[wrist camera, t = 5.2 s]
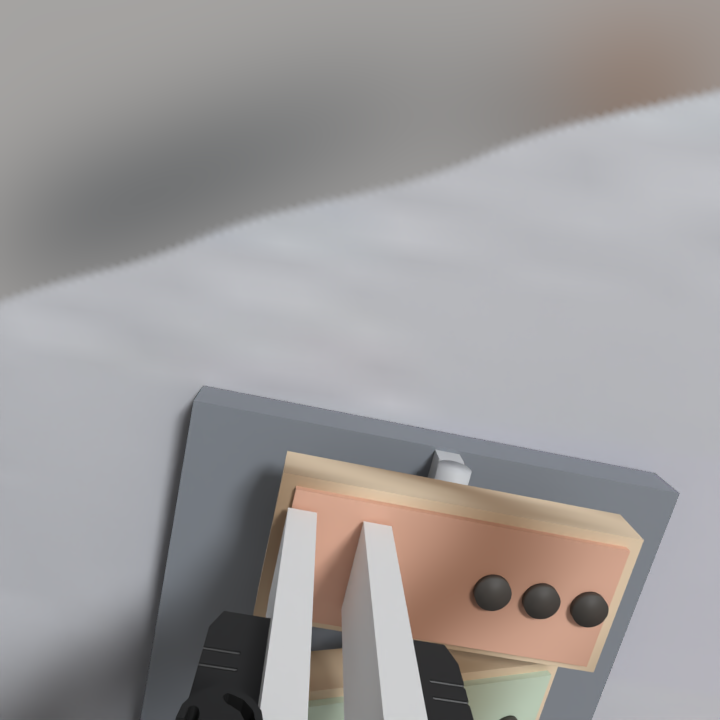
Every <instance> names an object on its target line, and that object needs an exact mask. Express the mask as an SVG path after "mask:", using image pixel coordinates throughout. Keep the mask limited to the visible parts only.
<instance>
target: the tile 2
mask: <svg viewBox="0 0 720 720" xmlns="http://www.w3.org/2000/svg"><path fill="white" fill-rule="evenodd" d="M448 650H449V652H450V653H451V654H452V656H453V657H454V659H455V660H456V661H457V663H458V664H459V668H460V672H461V675H462V679H463V682H464V688H465V690H466V693H467V697H468V701H469V702H468V705H469V706H470V708H471V712H472V715H473V719H474V720H539V718H540V715H541V712H542V710H543V707H544V704H545V701H546V698H547V696H548V693H549V690H550V687H551V685H552V682H553V679H554V676H555V674H556V671H557V668H558V667H557V666H551V665H545V664H539V663H532V662H526V661H520V660H514V659H508V658H502V657H496V656H489V655H483V654H477V653H471V652H465V651H459V650H453V649H448ZM308 720H344V694H343V655H342V648H341V649H330V650H319V651H311V658H310V680H309V702H308Z"/></svg>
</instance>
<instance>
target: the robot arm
mask: <svg viewBox="0 0 720 720" xmlns="http://www.w3.org/2000/svg"><path fill="white" fill-rule="evenodd" d="M316 525H317V513H316V512H310V511H305V510H299V509H294V508H288V511H287V516H286V520H285V525H284V530H283V534H282V539H281V543H280V548H279V553H278V557H277V562H276V566H275V571H274V576H273V580H272V585H271V589H270V594H269V599H268V605H267V612H266V618H265V617H259V616H253V615H246V614H240V613H234V612H228V611H223V612H222V613H221V614H220V615H219V616H218V618H217V619H216V620H215V621H214V622H213V623H212V624H211V625H210V626H209V628H208V632H207V635H206V639H205V642H204V646H203V650H202V653H201V656H200V660H199V664H198V667H197V670H196V674H195V677H194V681H193V684H192V688H191V691H190V695H189V698H188V699H187V700H186V701H185V702H184V703H182V705H181V707H180V709H179V712H178V714H177V716H176V719H175V720H308V702H309V680H310V658H311V635H312V613H313V591H314V569H315V547H316ZM341 616H342V655H343V694H344V720H474V719H473V715H472V712H471V708H470V706H469V705H468V702H469V701H468V697H467V693H466V690H465V688H464V682H463V679H462V675H461V672H460V668H459V664H458V663H457V661H456V660H455V659H454V657H453V656H452V654H451V653H450V652H449V650H448V649H447V648H446V646H445V645H443V644H437V643H430V642H424V641H418V640H413V638H412V633H411V627H410V622H409V617H408V611H407V606H406V601H405V595H404V590H403V585H402V579H401V574H400V568H399V563H398V558H397V552H396V547H395V542H394V536H393V531H392V526H388V525H382V524H377V523H371V522H365V521H364V522H363V525H362V529H361V533H360V537H359V541H358V545H357V549H356V553H355V557H354V561H353V565H352V569H351V573H350V577H349V581H348V585H347V589H346V593H345V597H344V601H343V604H342V608H341Z"/></svg>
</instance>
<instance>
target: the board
mask: <svg viewBox="0 0 720 720" xmlns="http://www.w3.org/2000/svg"><path fill="white" fill-rule="evenodd" d="M287 451H291V452H296V453H301V454H306V455H312V456H317V457H322V458H327V459H333V460H338V461H343V462H348V463H354V464H359V465H364V466H369V467H374V468H380V469H385V470H390V471H395V472H401V473H406V474H411V475H416V476H422V477H427V478H432V479H437V480H442V481H448V482H453V483H458V484H463V485H469V486H474V487H479V488H484V489H489V490H495V491H500V492H505V493H510V494H516V495H521V496H526V497H531V498H537V499H542V500H547V501H552V502H557V503H563V504H568V505H573V506H578V507H584V508H589V509H594V510H599V511H605V512H610V513H615V514H620V515H621V516H622V517H623V518H624V519H625V520H626V521H627V522H628V523H629V525H630V526H631V527H632V528H633V529H634V530H635V531H636V532H637V533H638V534H639V535H640V536H641V537H642V539H643V540H644V541H643V544H642V547H641V549H640V552H639V555H638V557H637V560H636V562H635V565H634V568H633V570H632V573H631V576H630V578H629V581H628V583H627V586H626V589H625V591H624V594H623V596H622V599H621V602H620V604H619V607H618V610H617V612H616V615H615V617H614V620H613V623H612V625H611V628H610V631H609V633H608V636H607V638H606V641H605V644H604V646H603V649H602V652H601V654H600V657H599V659H598V662H597V665H596V667H595V670H594V672H588V671H582V670H575V669H569V668H563V667H558V668H557V671H556V674H555V676H554V679H553V682H552V685H551V687H550V690H549V693H548V696H547V698H546V701H545V704H544V707H543V710H542V712H541V715H540V718H539V720H592V717H593V715H594V712H595V709H596V707H597V704H598V702H599V699H600V697H601V694H602V691H603V689H604V686H605V684H606V681H607V679H608V676H609V673H610V671H611V668H612V666H613V663H614V661H615V658H616V655H617V653H618V650H619V648H620V645H621V643H622V640H623V637H624V635H625V632H626V630H627V627H628V625H629V622H630V619H631V617H632V614H633V612H634V609H635V607H636V604H637V601H638V599H639V596H640V594H641V591H642V589H643V586H644V583H645V581H646V578H647V576H648V573H649V571H650V568H651V565H652V563H653V560H654V558H655V555H656V553H657V550H658V547H659V545H660V542H661V540H662V537H663V535H664V532H665V529H666V527H667V524H668V522H669V519H670V517H671V514H672V511H673V509H674V506H675V504H676V501H677V499H678V496H679V492H677V491H676V490H675V489H674V488H673V487H671V486H670V485H669V484H668V483H666V482H665V481H664V480H663V479H662V478H660V477H659V476H658V475H657V474H655V473H651V472H646V471H640V470H635V469H630V468H625V467H620V466H615V465H610V464H604V463H599V462H594V461H589V460H584V459H579V458H573V457H568V456H563V455H558V454H553V453H548V452H543V451H537V450H532V449H527V448H522V447H517V446H512V445H506V444H501V443H496V442H491V441H486V440H481V439H476V438H470V437H465V436H460V435H455V434H450V433H445V432H439V431H434V430H429V429H424V428H419V427H414V426H409V425H403V424H398V423H393V422H388V421H383V420H378V419H372V418H367V417H362V416H357V415H352V414H347V413H342V412H336V411H331V410H326V409H321V408H316V407H311V406H305V405H300V404H295V403H290V402H285V401H280V400H275V399H269V398H264V397H259V396H254V395H249V394H244V393H238V392H233V391H228V390H223V389H218V388H213V387H208V386H203V387H202V388H201V390H200V392H199V393H198V395H197V396H196V398H195V399H194V402H193V408H192V413H191V419H190V425H189V431H188V437H187V443H186V449H185V455H184V461H183V467H182V473H181V479H180V485H179V491H178V497H177V503H176V509H175V515H174V521H173V527H172V533H171V539H170V545H169V551H168V557H167V563H166V569H165V575H164V581H163V587H162V593H161V599H160V605H159V611H158V617H157V623H156V629H155V635H154V641H153V647H152V653H151V659H150V665H149V671H148V677H147V683H146V689H145V695H144V701H143V707H142V713H141V719H140V720H175V719H176V716H177V714H178V712H179V709H180V707H181V705H182V703H184V702H185V701H186V700H187V699H188V698H189V695H190V691H191V688H192V684H193V681H194V677H195V674H196V670H197V667H198V664H199V660H200V656H201V653H202V650H203V646H204V642H205V639H206V635H207V632H208V628H209V626H210V625H211V624H212V623H213V622H214V621H215V620H216V619H217V618H218V616H219V615H220V614H221V613H222V612H223V611H228V612H234V613H240V614H246V615H253V613H254V608H255V603H256V597H257V592H258V587H259V582H260V577H261V573H262V568H263V563H264V559H265V554H266V549H267V544H268V540H269V535H270V530H271V525H272V521H273V516H274V511H275V507H276V502H277V497H278V492H279V488H280V483H281V478H282V473H283V469H284V464H285V459H286V455H287ZM341 648H342V631H336V630H330V629H324V628H318V627H312V635H311V651H319V650H330V649H341Z"/></svg>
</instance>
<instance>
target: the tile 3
mask: <svg viewBox="0 0 720 720" xmlns="http://www.w3.org/2000/svg"><path fill="white" fill-rule="evenodd" d="M288 508H294V509H299V510H305V511H310V512H316V513H317V525H316V547H315V569H314V591H313V613H312V627H318V628H324V629H330V630H336V631H342V616H341V608H342V604H343V601H344V597H345V593H346V589H347V585H348V581H349V577H350V573H351V569H352V565H353V561H354V557H355V553H356V549H357V545H358V541H359V537H360V533H361V529H362V525H363V522H364V521H365V522H371V523H377V524H382V525H388V526H392V531H393V536H394V542H395V547H396V552H397V558H398V563H399V568H400V574H401V579H402V585H403V590H404V595H405V601H406V606H407V611H408V617H409V622H410V627H411V633H412V638H413V640H418V641H424V642H430V643H437V644H443V645H445V646H446V648H447V649H453V650H459V651H465V652H471V653H477V654H483V655H489V656H496V657H502V658H508V659H514V660H520V661H526V662H532V663H539V664H545V665H551V666H557V667H563V668H569V669H575V670H582V671H588V672H594V670H595V667H596V665H597V662H598V659H599V657H600V654H601V652H602V649H603V646H604V644H605V641H606V638H607V636H608V633H609V631H610V628H611V625H612V623H613V620H614V617H615V615H616V612H617V610H618V607H619V604H620V602H621V599H622V596H623V594H624V591H625V589H626V586H627V583H628V581H629V578H630V576H631V573H632V570H633V568H634V565H635V562H636V560H637V557H638V555H639V552H640V549H641V547H642V544H643V541H644V540H643V539H642V537H641V536H640V535H639V534H638V533H637V532H636V531H635V530H634V529H633V528H632V527H631V526H630V525H629V523H628V522H627V521H626V520H625V519H624V518H623V517H622V516H621V515H620V514H615V513H610V512H605V511H599V510H594V509H589V508H584V507H578V506H573V505H568V504H563V503H557V502H552V501H547V500H542V499H537V498H531V497H526V496H521V495H516V494H510V493H505V492H500V491H495V490H489V489H484V488H479V487H474V486H469V485H463V484H458V483H453V482H448V481H442V480H437V479H432V478H427V477H422V476H416V475H411V474H406V473H401V472H395V471H390V470H385V469H380V468H374V467H369V466H364V465H359V464H354V463H348V462H343V461H338V460H333V459H327V458H322V457H317V456H312V455H306V454H301V453H296V452H291V451H287V455H286V459H285V464H284V469H283V473H282V478H281V483H280V488H279V492H278V497H277V502H276V507H275V511H274V516H273V521H272V525H271V530H270V535H269V540H268V544H267V549H266V554H265V559H264V563H263V568H262V573H261V577H260V582H259V587H258V592H257V597H256V603H255V608H254V613H253V616H259V617H265V618H266V612H267V605H268V599H269V594H270V589H271V585H272V580H273V576H274V571H275V566H276V562H277V557H278V553H279V548H280V543H281V539H282V534H283V530H284V525H285V520H286V516H287V511H288Z"/></svg>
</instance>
